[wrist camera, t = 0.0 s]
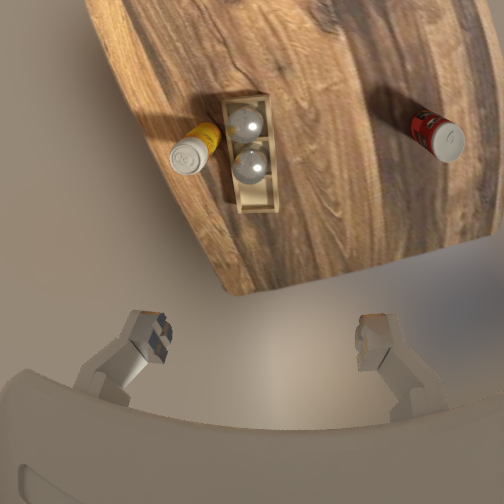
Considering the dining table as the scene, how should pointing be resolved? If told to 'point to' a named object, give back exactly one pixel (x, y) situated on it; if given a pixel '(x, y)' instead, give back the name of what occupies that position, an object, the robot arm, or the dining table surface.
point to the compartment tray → (266, 191)
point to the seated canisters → (248, 144)
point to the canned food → (438, 135)
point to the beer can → (195, 148)
